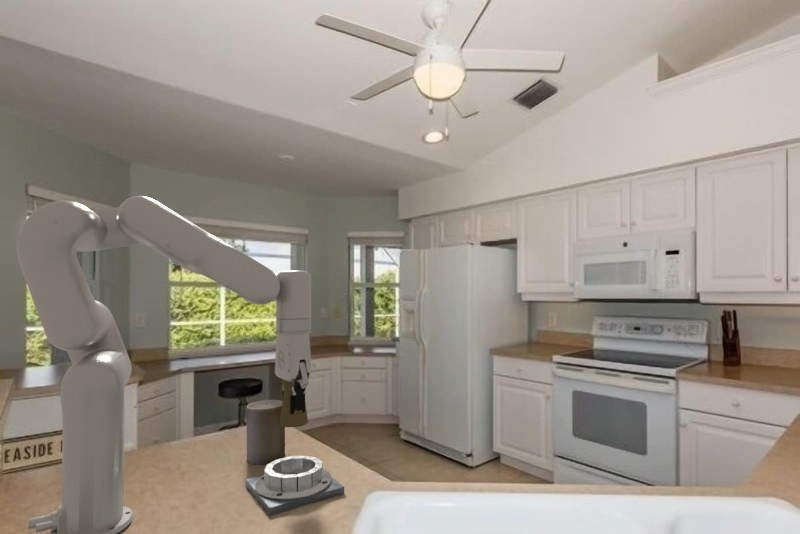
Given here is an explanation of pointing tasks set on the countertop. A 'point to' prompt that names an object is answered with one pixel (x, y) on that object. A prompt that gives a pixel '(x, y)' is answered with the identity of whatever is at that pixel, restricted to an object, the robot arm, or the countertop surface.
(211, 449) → the countertop surface
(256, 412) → the pillar candle
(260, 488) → the rosette plate
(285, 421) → the olive knobbed peg
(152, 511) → the countertop surface
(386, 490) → the countertop surface
